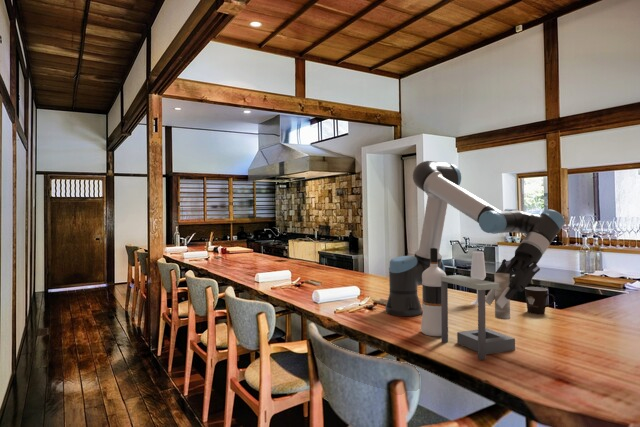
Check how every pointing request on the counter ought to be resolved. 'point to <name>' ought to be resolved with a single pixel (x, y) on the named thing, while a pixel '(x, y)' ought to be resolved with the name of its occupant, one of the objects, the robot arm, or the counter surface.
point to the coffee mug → (537, 299)
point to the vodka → (432, 297)
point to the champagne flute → (478, 269)
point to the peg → (503, 283)
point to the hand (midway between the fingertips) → (493, 303)
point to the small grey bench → (481, 287)
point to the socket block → (493, 341)
